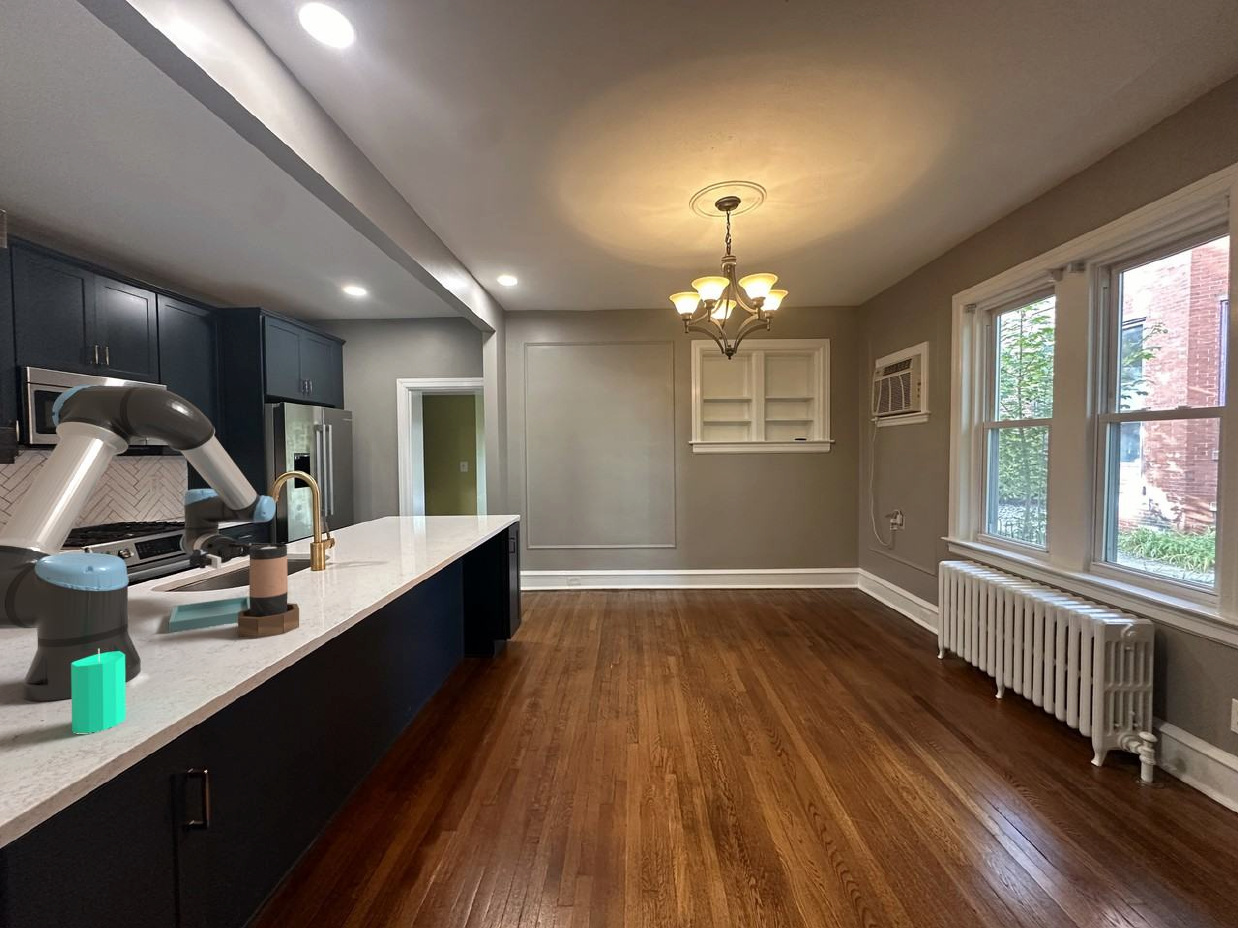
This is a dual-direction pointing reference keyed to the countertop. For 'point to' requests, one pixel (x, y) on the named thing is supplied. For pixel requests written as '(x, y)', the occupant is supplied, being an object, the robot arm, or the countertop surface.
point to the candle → (98, 692)
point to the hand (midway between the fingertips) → (251, 558)
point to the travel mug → (268, 580)
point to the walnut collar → (268, 623)
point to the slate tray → (207, 614)
